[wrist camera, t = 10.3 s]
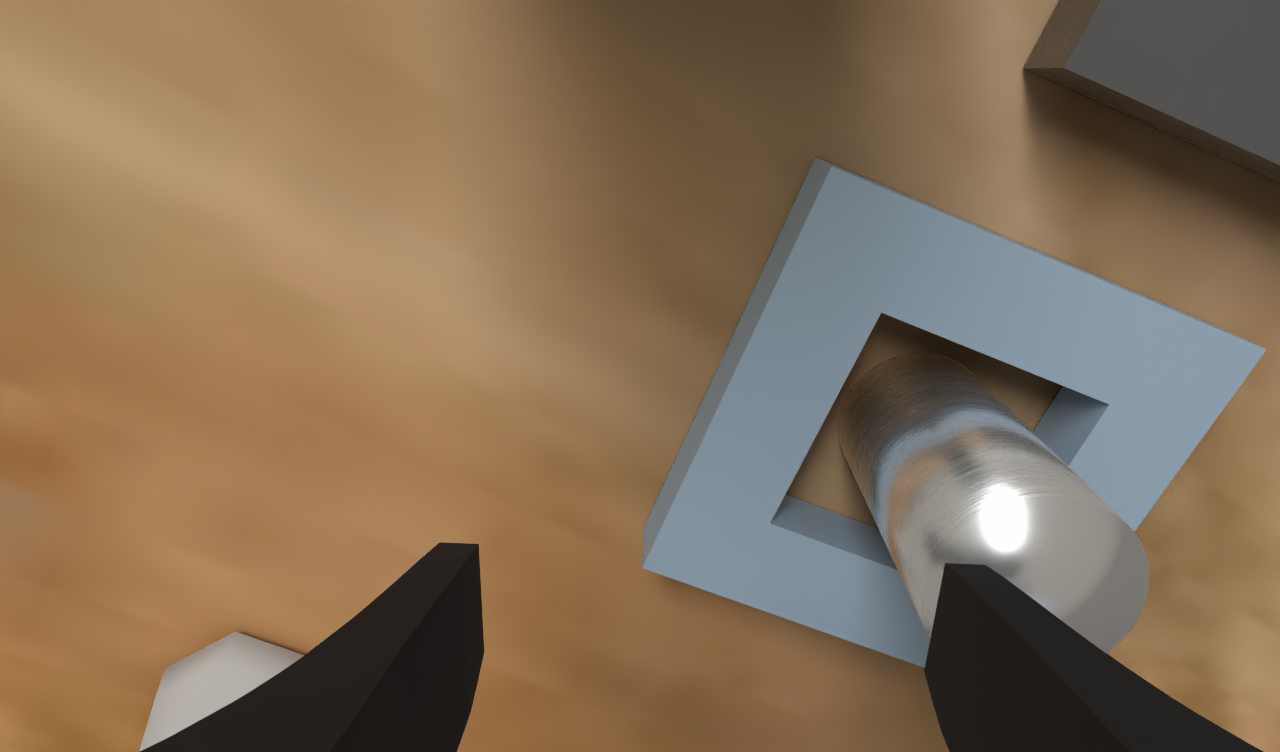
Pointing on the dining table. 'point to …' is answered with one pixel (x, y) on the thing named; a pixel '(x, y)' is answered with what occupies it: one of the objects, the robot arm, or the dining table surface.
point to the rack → (951, 308)
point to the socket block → (1176, 69)
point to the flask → (212, 682)
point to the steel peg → (985, 498)
